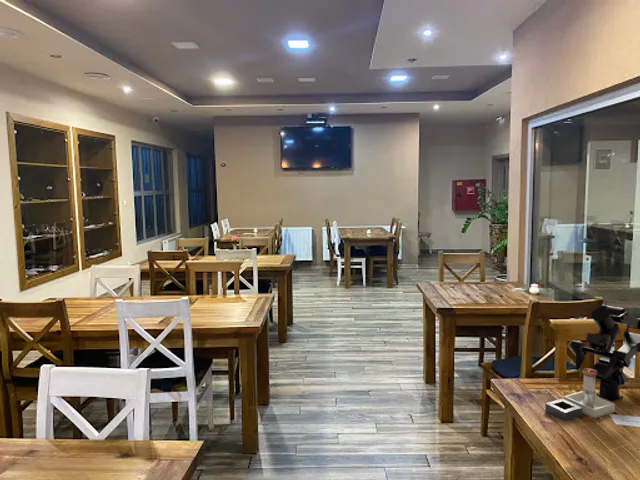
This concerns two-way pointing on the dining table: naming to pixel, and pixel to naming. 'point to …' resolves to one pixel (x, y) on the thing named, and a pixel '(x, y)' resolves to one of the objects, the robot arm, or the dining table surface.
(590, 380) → the pin
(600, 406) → the tray
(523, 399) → the dining table surface
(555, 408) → the dark grey square socket
